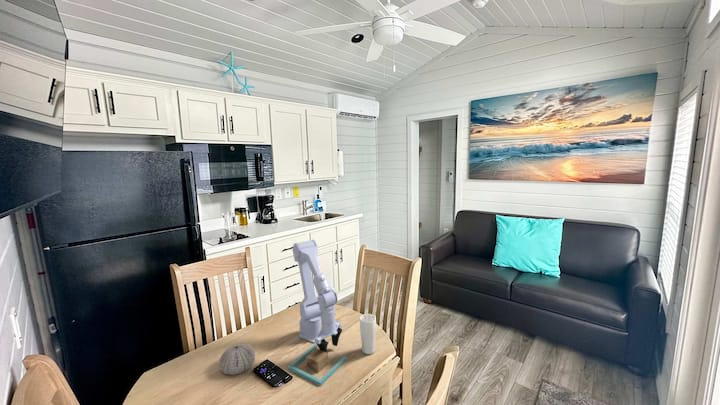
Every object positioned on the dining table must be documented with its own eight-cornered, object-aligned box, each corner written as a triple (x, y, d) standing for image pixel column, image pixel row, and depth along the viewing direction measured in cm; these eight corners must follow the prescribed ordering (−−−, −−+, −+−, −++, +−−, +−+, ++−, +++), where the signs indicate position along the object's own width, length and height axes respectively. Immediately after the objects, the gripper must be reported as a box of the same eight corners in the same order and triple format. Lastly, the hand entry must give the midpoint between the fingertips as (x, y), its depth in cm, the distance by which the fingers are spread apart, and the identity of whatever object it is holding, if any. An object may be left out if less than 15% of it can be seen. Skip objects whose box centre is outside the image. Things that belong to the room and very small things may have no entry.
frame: (288, 369, 113) (288, 366, 113) (315, 346, 127) (315, 344, 126) (320, 386, 105) (320, 383, 104) (346, 360, 118) (346, 357, 118)
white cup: (375, 357, 119) (374, 323, 117) (359, 355, 120) (358, 321, 118) (377, 346, 126) (377, 314, 123) (362, 344, 127) (361, 312, 125)
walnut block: (306, 367, 114) (306, 356, 114) (316, 358, 119) (316, 348, 119) (318, 372, 111) (317, 362, 110) (328, 363, 116) (327, 353, 115)
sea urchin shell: (262, 358, 120) (261, 340, 119) (239, 381, 108) (237, 362, 106) (236, 351, 125) (235, 334, 123) (211, 374, 112) (209, 355, 111)
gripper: (324, 331, 111) (326, 364, 113) (346, 314, 123) (347, 343, 126) (310, 326, 115) (312, 357, 117) (333, 309, 127) (334, 338, 129)
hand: (329, 350), depth 122 cm, fingers open, 7 cm apart
